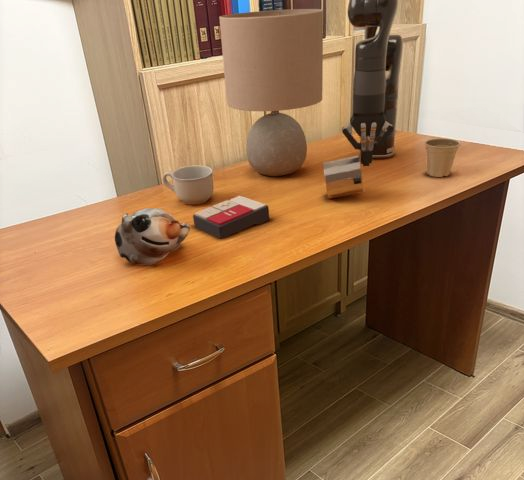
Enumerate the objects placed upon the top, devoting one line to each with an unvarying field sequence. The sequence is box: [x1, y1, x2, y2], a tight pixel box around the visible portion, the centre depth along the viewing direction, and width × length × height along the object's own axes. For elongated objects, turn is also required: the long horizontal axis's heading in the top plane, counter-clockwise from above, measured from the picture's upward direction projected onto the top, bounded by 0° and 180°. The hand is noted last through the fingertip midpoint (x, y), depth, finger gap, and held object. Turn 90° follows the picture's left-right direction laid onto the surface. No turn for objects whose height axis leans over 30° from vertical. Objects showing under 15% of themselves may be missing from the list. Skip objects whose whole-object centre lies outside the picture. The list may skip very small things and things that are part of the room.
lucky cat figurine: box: [114, 207, 191, 266], centre depth 113 cm, size 15×12×14 cm
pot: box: [322, 155, 364, 200], centre depth 138 cm, size 9×12×9 cm
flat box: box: [192, 195, 270, 239], centre depth 129 cm, size 11×4×15 cm
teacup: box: [161, 164, 215, 206], centre depth 144 cm, size 14×11×8 cm
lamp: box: [219, 8, 324, 177], centre depth 151 cm, size 27×27×41 cm
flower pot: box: [424, 138, 461, 178], centre depth 150 cm, size 9×9×9 cm
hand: (365, 165), depth 136 cm, fingers closed
